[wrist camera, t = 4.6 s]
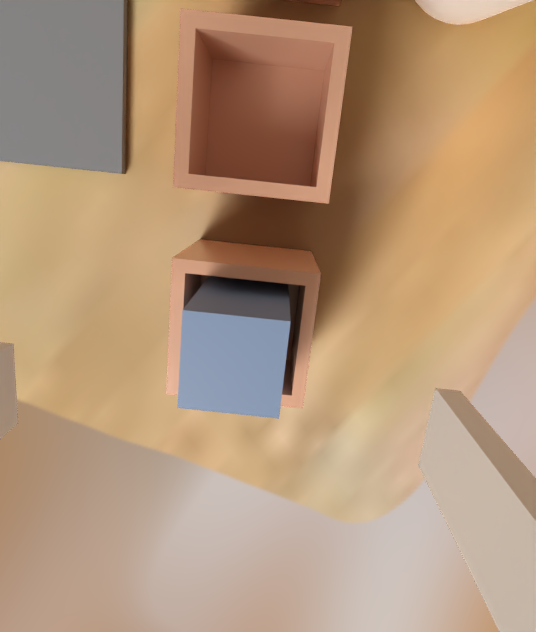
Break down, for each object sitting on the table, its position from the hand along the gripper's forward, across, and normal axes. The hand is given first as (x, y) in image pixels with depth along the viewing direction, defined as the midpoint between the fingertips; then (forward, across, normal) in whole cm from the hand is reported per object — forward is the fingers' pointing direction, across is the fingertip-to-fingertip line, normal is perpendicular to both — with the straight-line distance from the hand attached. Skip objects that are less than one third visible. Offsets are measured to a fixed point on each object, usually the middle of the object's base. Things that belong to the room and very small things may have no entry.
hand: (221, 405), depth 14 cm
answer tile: (+14, -13, +12) cm, 22 cm away
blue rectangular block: (+11, 0, 0) cm, 11 cm away
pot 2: (+14, 0, 0) cm, 14 cm away
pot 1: (+14, 0, +10) cm, 17 cm away
